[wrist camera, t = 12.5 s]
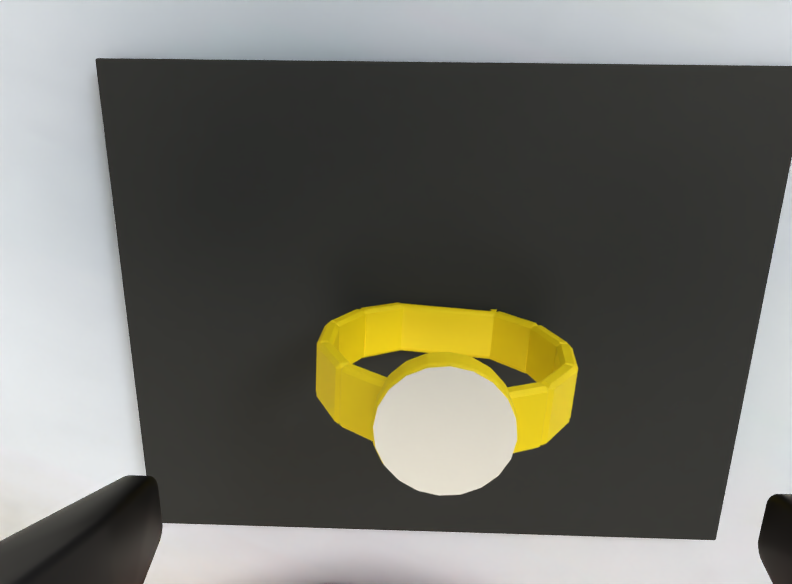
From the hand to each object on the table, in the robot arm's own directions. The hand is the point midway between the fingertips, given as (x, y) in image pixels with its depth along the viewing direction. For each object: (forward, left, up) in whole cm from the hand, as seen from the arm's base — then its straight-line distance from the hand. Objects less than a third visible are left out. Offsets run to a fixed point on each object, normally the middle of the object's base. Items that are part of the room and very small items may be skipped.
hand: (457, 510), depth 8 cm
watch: (0, 0, -8) cm, 9 cm away
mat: (0, 0, -9) cm, 9 cm away
